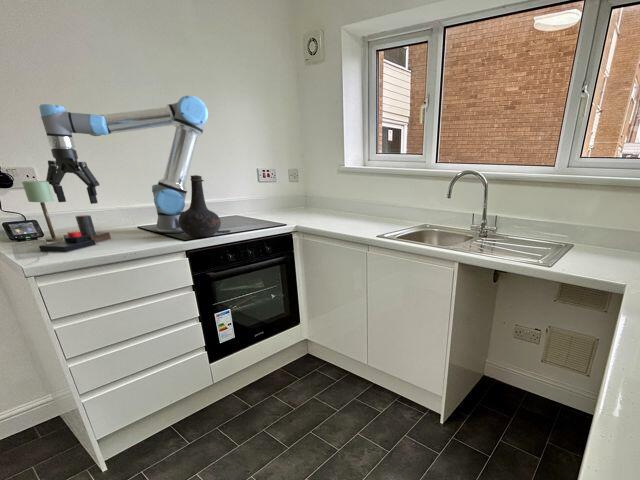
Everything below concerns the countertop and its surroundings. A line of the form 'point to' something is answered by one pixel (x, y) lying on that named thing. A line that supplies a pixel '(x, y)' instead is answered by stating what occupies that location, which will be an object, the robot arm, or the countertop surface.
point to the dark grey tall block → (85, 225)
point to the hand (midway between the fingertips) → (78, 202)
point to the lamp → (41, 201)
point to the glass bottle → (198, 213)
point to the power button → (74, 234)
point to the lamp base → (68, 244)
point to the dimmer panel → (98, 236)
